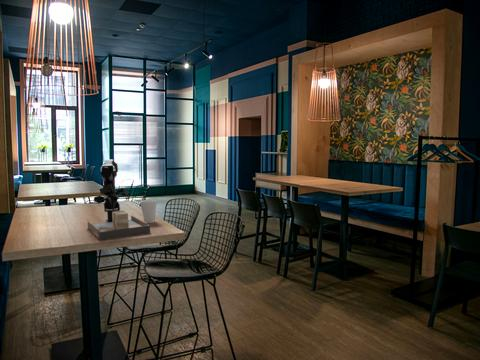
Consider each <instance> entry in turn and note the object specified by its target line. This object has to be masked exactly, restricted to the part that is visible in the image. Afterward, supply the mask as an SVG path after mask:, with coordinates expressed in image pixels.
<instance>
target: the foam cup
mask: <svg viewBox="0 0 480 360" xmlns="http://www.w3.org/2000/svg"><path fill="white" fill-rule="evenodd" d="M157 203H158V201H157V199H143V200H140V207H141V211H142V212H141V213H142V216H143V221H144V222H146V223H148V224H151V223H156V222H155V221H156V212H157Z"/></svg>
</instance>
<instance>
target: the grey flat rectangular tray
mask: <svg viewBox="0 0 480 360" xmlns="http://www.w3.org/2000/svg"><path fill="white" fill-rule="evenodd" d="M128 224H129V228H125V229H117V230H115V229H114V228H113V221H112V222H108V221H107V222H101V223H95V224H94V223H93V222H92V221H91V220H87V229H88V230H89V231H90V232H91V233H92V234H93V235H94V236H95V237H96V238H97V239H98V240H99V241H104V240H110V239H117V238H118V239H119V238H124V237H132V236H137V235H143V234H144V235H145V234H150V233H151V225H150V224H149V223H146V222H144V220H142V219H140V218H138V217H137V216H135V215H130V219H128Z"/></svg>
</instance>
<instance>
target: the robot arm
mask: <svg viewBox="0 0 480 360" xmlns="http://www.w3.org/2000/svg"><path fill="white" fill-rule="evenodd" d="M118 172H119V166H118V163H117V162H116V161H115V160H114V159H112V158H111V159H105V162H104V164H102V165H101V167H100V173H99V174H100V176H101V179H102V181H103V182H102V183H103V186H102V187H101V188H98V190H99V193H100V195H97V196H94V197H93V202H94V203H97V204H102V203H103V207H104V208H103V209H104V210H103V211H104V213H106V216H107V217H106V219H105V220H106V222H107V223H108V222H113V221H112V212H115V211H121V206H120V203H119V201H118V200H119V199H120V197H119V195H121V196H122V197H124V196H127V195H128V194H129V193H128V190H127V189H126V188H123V187H121V188H118V189H116V186H115V183H116V182H115V180H116V179H115V178H116V177H117V175H118ZM102 195H103V196H102Z"/></svg>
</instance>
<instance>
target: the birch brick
mask: <svg viewBox="0 0 480 360" xmlns="http://www.w3.org/2000/svg"><path fill="white" fill-rule="evenodd" d="M128 220H129V212H127V211H125V210H120V211H115V212H112V222H113V228H114V229H115V230H117V229H125V228H129V224H128Z"/></svg>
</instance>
